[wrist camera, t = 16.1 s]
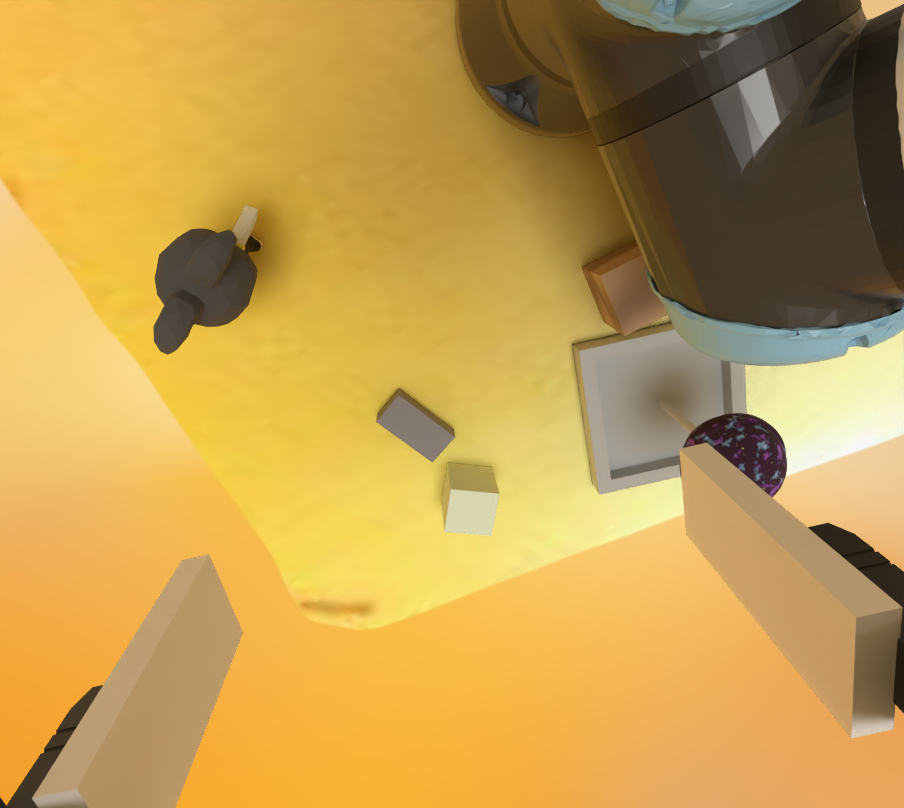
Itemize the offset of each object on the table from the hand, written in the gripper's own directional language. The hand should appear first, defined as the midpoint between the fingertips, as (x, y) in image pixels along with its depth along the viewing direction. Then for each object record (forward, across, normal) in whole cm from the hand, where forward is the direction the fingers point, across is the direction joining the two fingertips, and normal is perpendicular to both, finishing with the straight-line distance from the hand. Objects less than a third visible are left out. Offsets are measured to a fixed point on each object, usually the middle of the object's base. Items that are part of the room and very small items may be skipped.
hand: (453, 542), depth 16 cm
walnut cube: (+33, +16, -1) cm, 37 cm away
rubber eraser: (+33, -3, -9) cm, 34 cm away
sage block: (+33, 0, -16) cm, 36 cm away
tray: (+33, +18, -12) cm, 39 cm away
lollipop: (+32, +18, -12) cm, 39 cm away
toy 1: (+33, -12, +7) cm, 36 cm away
